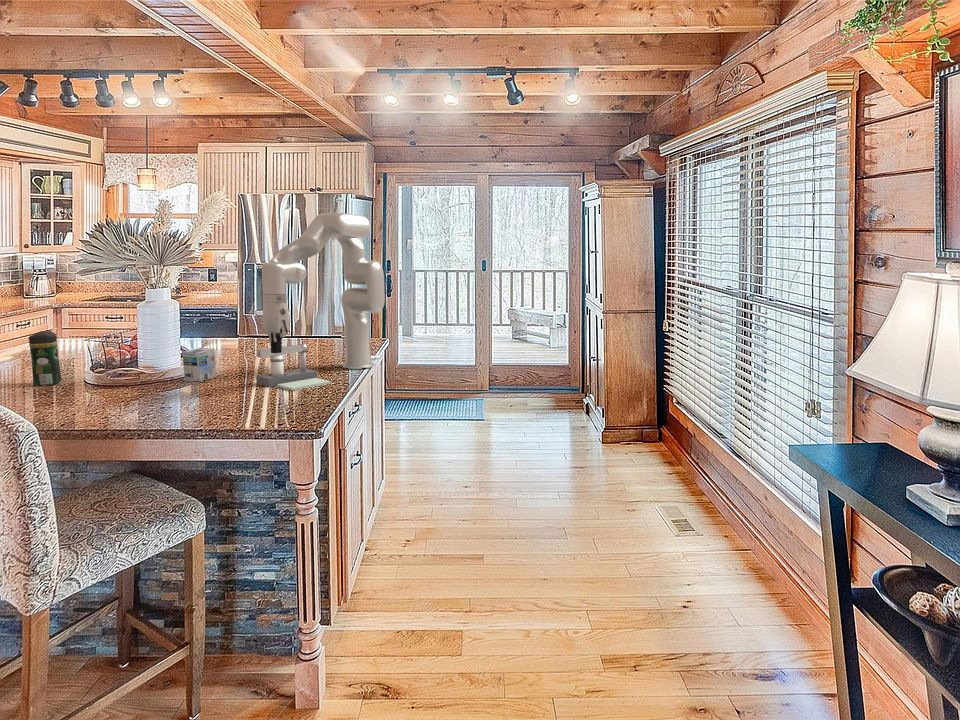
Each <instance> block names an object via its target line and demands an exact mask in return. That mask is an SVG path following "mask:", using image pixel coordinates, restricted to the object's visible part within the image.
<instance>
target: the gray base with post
mask: <svg viewBox="0 0 960 720" xmlns="http://www.w3.org/2000/svg"><path fill="white" fill-rule="evenodd" d="M299 355H300V356H299V358H300V360H299V361H300V368H297V369H291V370H285V371H284V376H278V377H273V376H271V373H266V374H259V375H256V378H255V379H256V385H258V384H260V385H259V386H262V385H264V387H266V386H267V387H268V388H271V387H272V386H274V387H277V384H283V383H288V382H294V381H300V380H306V379H312V378H318V370H313V369H310V368H307V351H305V352H299Z"/></svg>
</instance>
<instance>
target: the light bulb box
mask: <svg viewBox="0 0 960 720" xmlns="http://www.w3.org/2000/svg"><path fill="white" fill-rule="evenodd" d="M182 361H183V377H184V382H194V381H199V383H200V381H201V382H204V381H203V380H205V381H207V380H206V379H208V380H210V378H211V379H214V378H217V369H216V350H215V348H211V347H210V348H207V347H198V348H193V349H190V350H187V351H182ZM213 377H214V378H213Z"/></svg>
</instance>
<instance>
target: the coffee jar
mask: <svg viewBox="0 0 960 720" xmlns="http://www.w3.org/2000/svg"><path fill="white" fill-rule="evenodd" d="M28 344H29V345H28V347H29V351H30V358H31V359H30V360H31V368H32V369H31V371H32V380H33V381H32V382H33V385H34V386H35V385H48V386H55V385H59V383H61V381H62V375H61V367H60V359H59V351H58V338H57V334H56V333H55V332H53V331H52V330H42V331H38V332H36V333H34V334H31V335H30V336H28ZM54 384H55V385H54Z"/></svg>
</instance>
